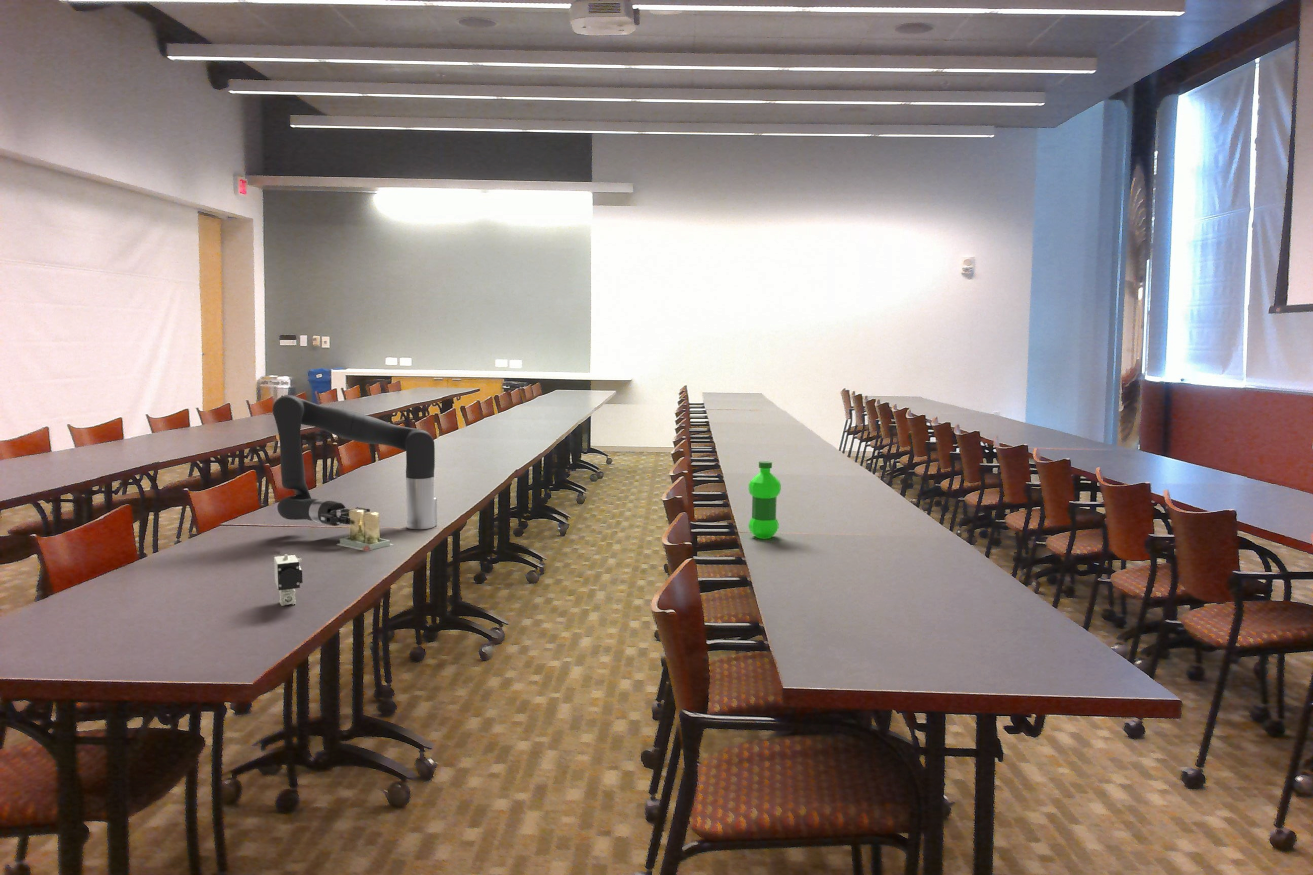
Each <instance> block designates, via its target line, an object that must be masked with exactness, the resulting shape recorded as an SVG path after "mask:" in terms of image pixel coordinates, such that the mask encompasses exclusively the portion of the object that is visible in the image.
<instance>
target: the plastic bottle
mask: <svg viewBox="0 0 1313 875" xmlns="http://www.w3.org/2000/svg"><path fill="white" fill-rule="evenodd" d="M772 467H773V462H772V461H768V460H767V461H764V460H763V461H759V462H758V468H759V469H760V471H759V473H757V474H756V475H755V476H754V477H753V478H752V479H751V480H750V481H749V484H748V491H749V494H750V495H751V497H752V501H751V505H752V506H751V518H750V521H749V523H748V529H749V531H750V533H751V534H752V535H753V536H755V538H757V539H761V540H762V539H763V540H768V539H771V538H772V537H774V536H775V534H776V533H777V532H778V530H779V528H780V527H779V526H780V525H779V521H778V519H777V499H778V496H779V495H780V493H781V488H782V487H781V486H782V484H781V482H780V480H779V479H778V478H777V477H776V476H775V475H774V474H772V473H771V469H772Z"/></svg>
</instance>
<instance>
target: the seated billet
mask: <svg viewBox="0 0 1313 875" xmlns="http://www.w3.org/2000/svg"><path fill="white" fill-rule="evenodd" d="M363 521H364V543H366V544H374V543H378V542H380V538H381V537H380V534H381V533H380V531H381V530H380V512H379V511H370V512H366V513H363Z"/></svg>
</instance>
